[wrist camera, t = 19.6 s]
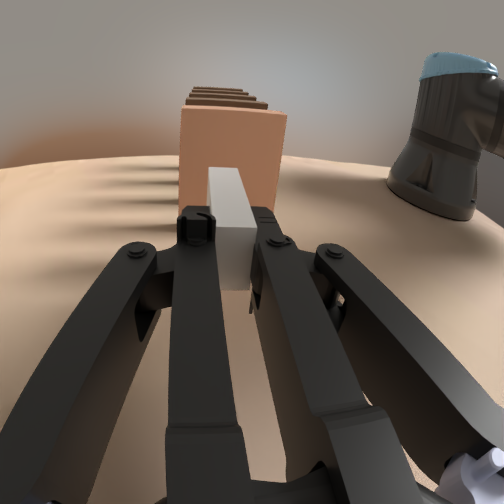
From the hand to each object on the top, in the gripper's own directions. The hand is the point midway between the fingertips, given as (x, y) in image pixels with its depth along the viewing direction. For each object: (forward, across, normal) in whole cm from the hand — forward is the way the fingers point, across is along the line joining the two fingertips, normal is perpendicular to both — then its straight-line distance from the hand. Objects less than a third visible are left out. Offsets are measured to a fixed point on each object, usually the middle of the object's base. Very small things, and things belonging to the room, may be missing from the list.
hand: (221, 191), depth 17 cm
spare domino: (+3, +1, -7) cm, 8 cm away
